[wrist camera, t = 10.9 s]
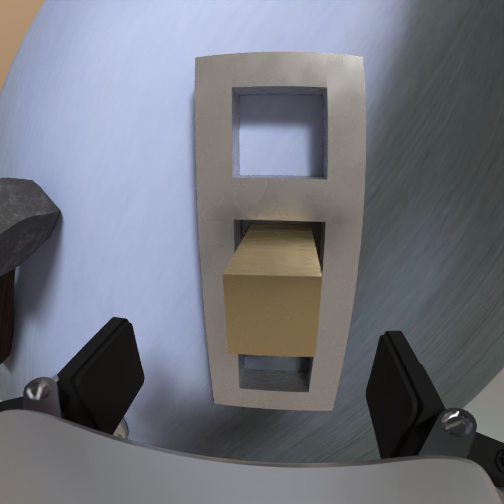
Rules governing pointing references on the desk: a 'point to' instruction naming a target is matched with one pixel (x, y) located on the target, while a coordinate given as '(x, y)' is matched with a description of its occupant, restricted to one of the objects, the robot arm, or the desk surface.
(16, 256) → the hammer
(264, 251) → the brass peg
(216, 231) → the white flat frame
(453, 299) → the desk surface
